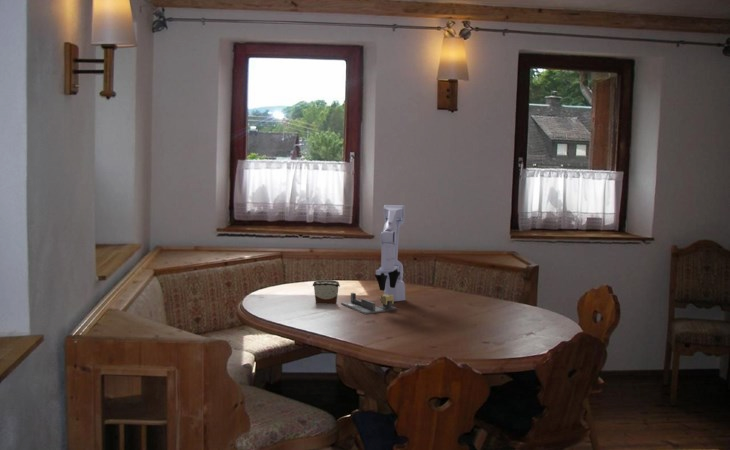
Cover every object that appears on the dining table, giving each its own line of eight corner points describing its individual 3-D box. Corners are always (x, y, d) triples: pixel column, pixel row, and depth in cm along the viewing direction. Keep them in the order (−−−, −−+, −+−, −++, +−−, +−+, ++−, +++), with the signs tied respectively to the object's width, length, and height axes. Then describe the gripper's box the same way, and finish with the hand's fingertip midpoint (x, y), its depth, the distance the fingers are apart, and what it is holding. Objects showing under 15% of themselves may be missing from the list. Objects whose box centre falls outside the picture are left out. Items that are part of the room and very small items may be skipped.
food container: (341, 301, 353) (341, 280, 352) (339, 304, 347) (339, 282, 346) (314, 300, 354) (314, 279, 353) (312, 303, 348) (312, 281, 347)
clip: (380, 302, 340) (380, 295, 340) (388, 301, 342) (388, 294, 342) (385, 304, 337) (385, 296, 337) (393, 303, 339) (393, 295, 339)
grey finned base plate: (388, 306, 345) (388, 297, 344) (397, 309, 339) (397, 300, 338) (377, 307, 341) (377, 299, 341) (385, 311, 335) (385, 302, 335)
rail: (360, 302, 353) (360, 291, 352) (385, 311, 335) (385, 300, 334) (341, 304, 347) (341, 293, 347) (365, 314, 330) (365, 302, 329)
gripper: (390, 255, 345) (389, 285, 347) (370, 259, 334) (370, 290, 336) (403, 257, 341) (402, 287, 343) (383, 261, 330) (383, 292, 331)
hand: (387, 288), depth 339 cm, fingers open, 7 cm apart
